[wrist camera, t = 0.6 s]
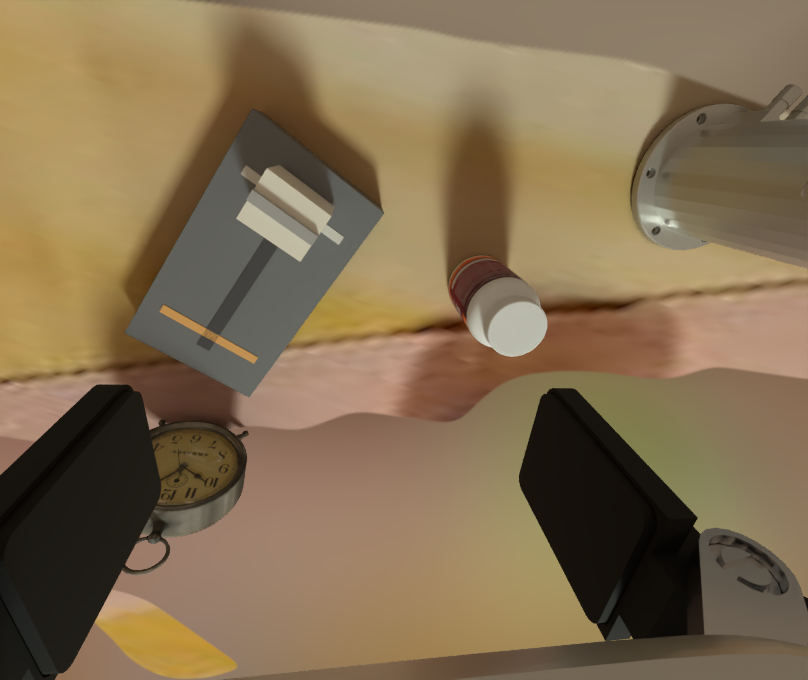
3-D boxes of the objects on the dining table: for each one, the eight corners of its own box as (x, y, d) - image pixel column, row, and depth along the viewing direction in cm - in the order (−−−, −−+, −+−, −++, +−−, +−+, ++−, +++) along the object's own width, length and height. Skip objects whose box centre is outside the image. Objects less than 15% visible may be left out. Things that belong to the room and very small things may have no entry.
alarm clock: (260, 421, 44) (214, 556, 30) (254, 459, 46) (208, 601, 32) (152, 406, 42) (45, 543, 27) (151, 446, 44) (51, 593, 30)
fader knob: (279, 164, 30) (265, 168, 25) (334, 206, 32) (331, 217, 27) (252, 208, 32) (233, 220, 27) (307, 246, 33) (299, 264, 28)
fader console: (260, 111, 32) (252, 108, 29) (381, 208, 36) (384, 213, 33) (140, 319, 38) (124, 333, 35) (255, 381, 42) (249, 397, 39)
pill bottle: (435, 297, 40) (461, 346, 30) (468, 242, 38) (507, 276, 28) (485, 322, 42) (525, 376, 32) (519, 271, 40) (573, 312, 30)
